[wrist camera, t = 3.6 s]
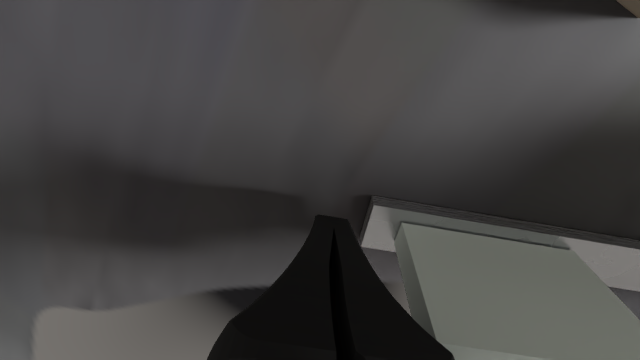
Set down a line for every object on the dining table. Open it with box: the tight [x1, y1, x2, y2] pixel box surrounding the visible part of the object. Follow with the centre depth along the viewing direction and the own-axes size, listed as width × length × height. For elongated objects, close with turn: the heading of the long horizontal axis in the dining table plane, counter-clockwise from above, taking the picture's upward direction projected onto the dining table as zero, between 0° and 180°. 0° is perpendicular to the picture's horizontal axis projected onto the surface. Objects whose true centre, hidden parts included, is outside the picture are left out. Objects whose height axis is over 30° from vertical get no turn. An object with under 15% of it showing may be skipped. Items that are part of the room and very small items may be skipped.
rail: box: [360, 195, 640, 291], centre depth 15 cm, size 16×2×1 cm, turn 80°
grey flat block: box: [394, 223, 640, 360], centre depth 12 cm, size 8×1×6 cm, turn 81°
